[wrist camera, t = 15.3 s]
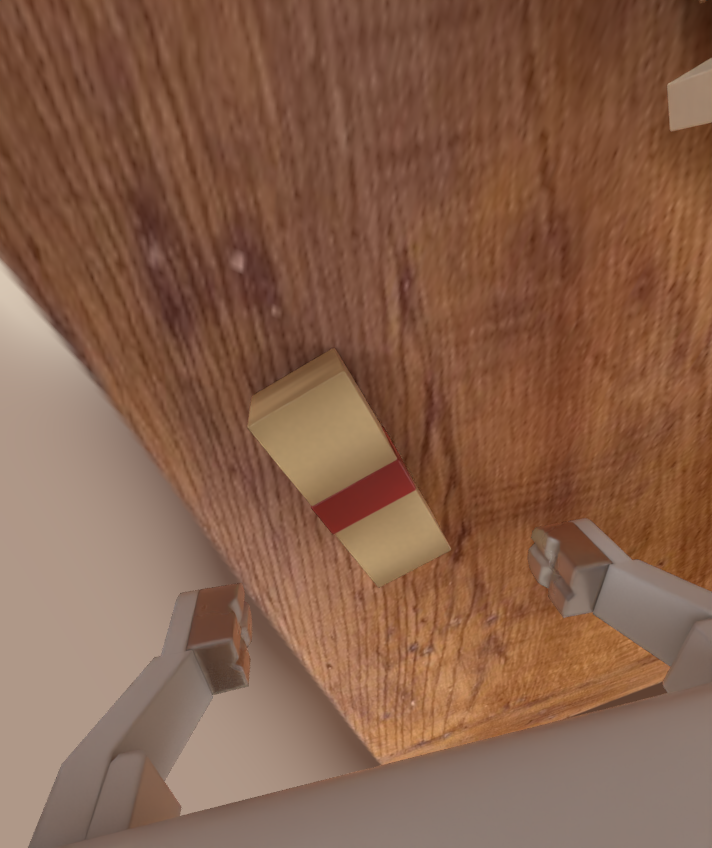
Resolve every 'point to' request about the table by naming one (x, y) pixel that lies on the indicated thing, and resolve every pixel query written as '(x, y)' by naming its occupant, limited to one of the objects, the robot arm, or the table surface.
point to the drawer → (691, 97)
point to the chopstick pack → (346, 467)
